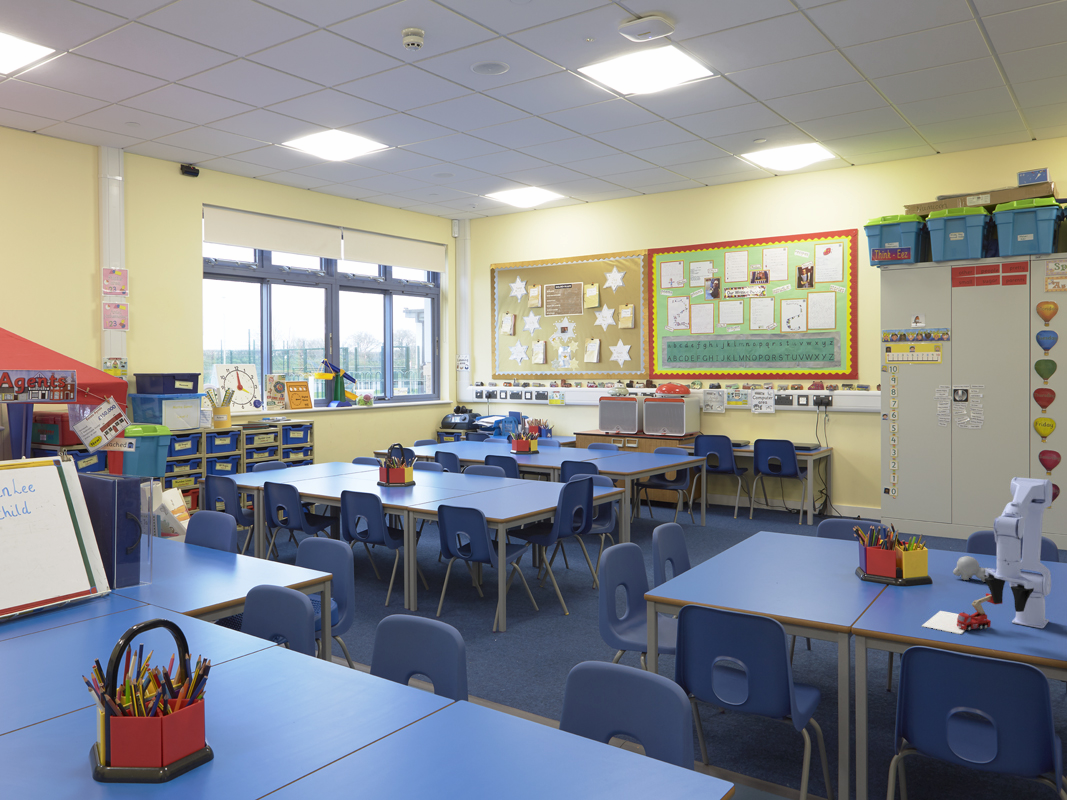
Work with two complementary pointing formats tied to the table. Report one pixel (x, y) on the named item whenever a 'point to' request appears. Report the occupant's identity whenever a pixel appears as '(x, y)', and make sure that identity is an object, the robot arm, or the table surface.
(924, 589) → the table surface
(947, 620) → the mat
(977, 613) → the toy fire truck
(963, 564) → the chubby cartoon animal
